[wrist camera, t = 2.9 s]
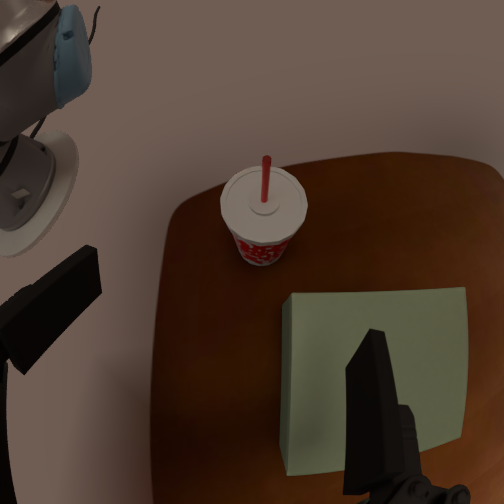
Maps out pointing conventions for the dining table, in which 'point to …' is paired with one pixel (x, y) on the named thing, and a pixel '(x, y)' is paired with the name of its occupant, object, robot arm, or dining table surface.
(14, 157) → the robot arm
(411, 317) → the shelf
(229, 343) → the dining table surface
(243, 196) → the beverage cup
